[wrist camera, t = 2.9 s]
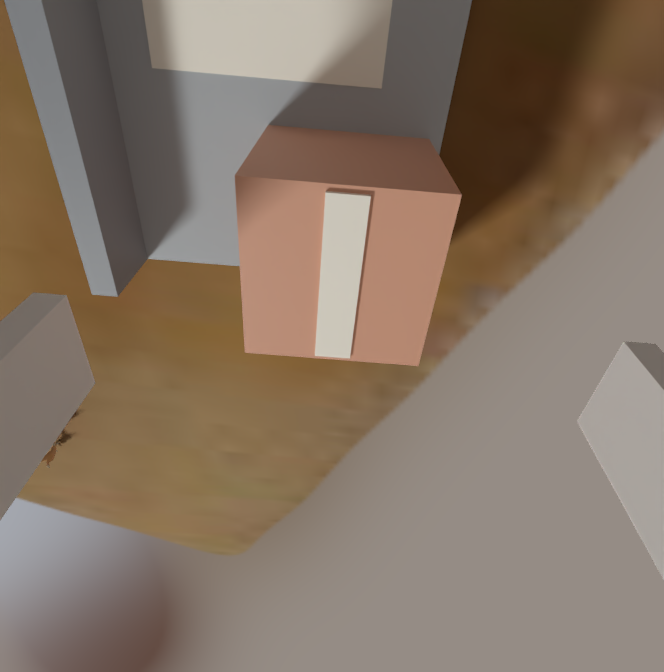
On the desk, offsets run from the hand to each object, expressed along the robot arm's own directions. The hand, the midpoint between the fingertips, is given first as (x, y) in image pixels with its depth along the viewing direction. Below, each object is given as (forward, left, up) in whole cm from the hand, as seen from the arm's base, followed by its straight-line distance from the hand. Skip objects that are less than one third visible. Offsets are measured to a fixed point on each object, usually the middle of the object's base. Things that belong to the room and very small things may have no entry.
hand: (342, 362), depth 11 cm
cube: (0, 0, -9) cm, 9 cm away
